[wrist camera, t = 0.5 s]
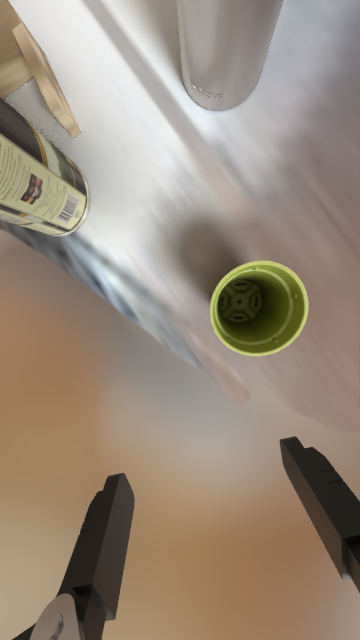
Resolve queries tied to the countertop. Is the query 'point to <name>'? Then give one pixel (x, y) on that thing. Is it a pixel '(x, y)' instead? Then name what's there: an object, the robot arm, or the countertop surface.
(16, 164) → the coffee can
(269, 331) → the plant pot
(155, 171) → the countertop surface
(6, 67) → the caddy
